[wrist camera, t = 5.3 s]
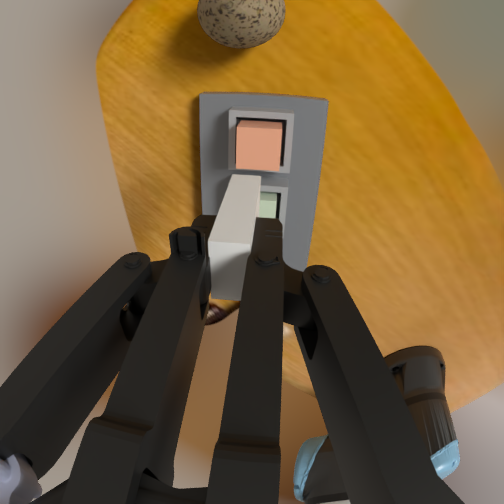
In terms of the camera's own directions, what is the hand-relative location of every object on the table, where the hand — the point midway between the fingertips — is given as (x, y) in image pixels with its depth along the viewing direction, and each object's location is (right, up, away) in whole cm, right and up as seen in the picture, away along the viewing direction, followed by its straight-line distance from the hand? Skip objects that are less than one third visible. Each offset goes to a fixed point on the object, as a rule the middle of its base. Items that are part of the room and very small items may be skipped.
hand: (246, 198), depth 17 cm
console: (+1, +4, +18) cm, 18 cm away
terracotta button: (+1, +7, +10) cm, 13 cm away
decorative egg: (0, +19, +7) cm, 21 cm away
